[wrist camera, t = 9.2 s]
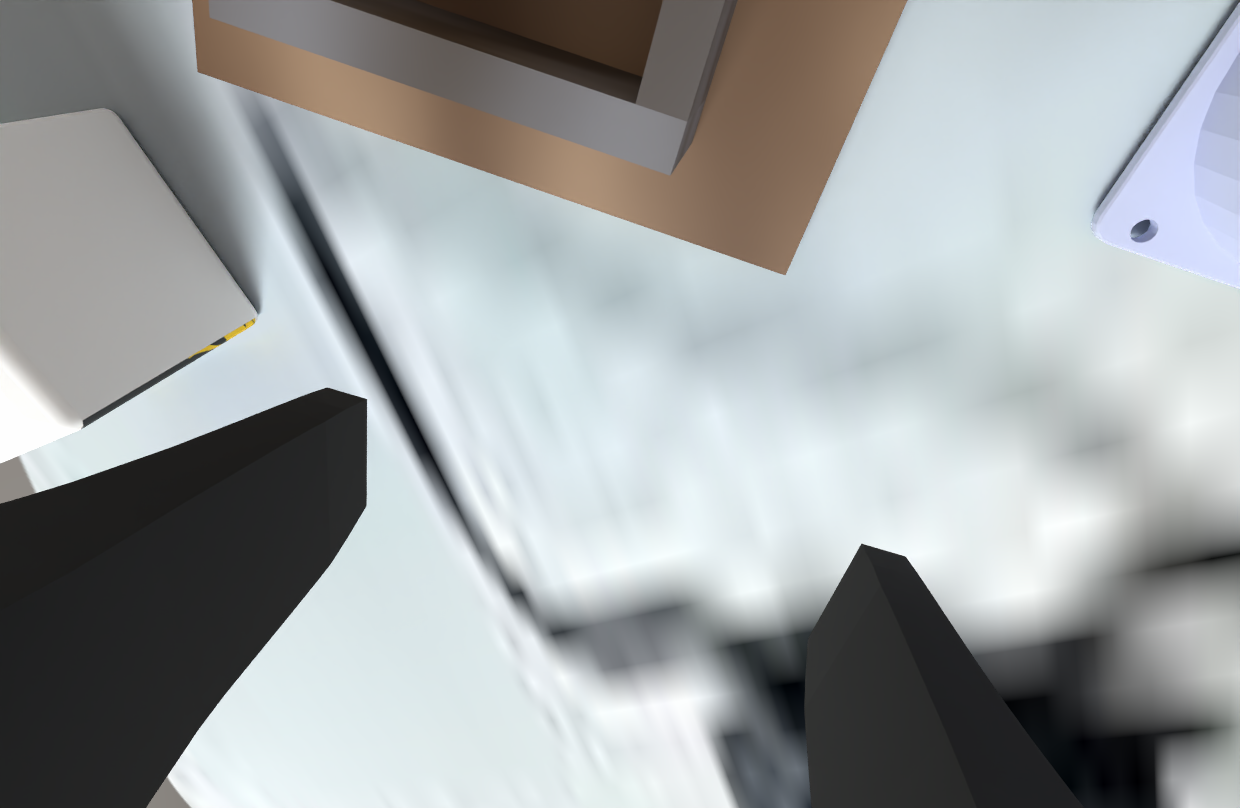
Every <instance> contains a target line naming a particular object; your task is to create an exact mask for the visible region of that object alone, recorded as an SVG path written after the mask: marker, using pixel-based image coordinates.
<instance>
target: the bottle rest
mask: <svg viewBox="0 0 1240 808" xmlns="http://www.w3.org/2000/svg"><path fill="white" fill-rule="evenodd" d="M906 2H907V0H192V3H193V16H194V29H195V43H196V56H197V69H198V72H199V73H202V74H205V75H208V76H211V77H214V78H217V79H220V80H223V81H225V82H228V83H231V84H234V85H237V86H240V87H243V88H246V89H249V90H251V91H254V92H257V93H260V94H263V95H266V96H269V97H272V98H275V99H277V100H280V101H283V102H286V103H289V104H292V105H295V106H298V107H301V108H303V109H306V110H309V111H312V112H315V113H318V114H321V115H324V116H327V117H329V118H332V119H335V120H338V121H341V122H344V123H347V124H350V125H353V126H355V127H358V128H361V129H364V130H367V131H370V132H373V133H376V134H379V135H381V136H384V137H387V138H390V139H393V140H396V141H399V142H402V143H404V144H407V145H410V146H413V147H416V148H419V149H422V150H425V151H428V152H430V153H433V154H436V155H439V156H442V157H445V158H448V159H451V160H454V161H456V162H459V163H462V164H465V165H468V166H471V167H474V168H477V169H480V170H482V171H485V172H488V173H491V174H494V175H497V176H500V177H503V178H506V179H508V180H511V181H514V182H517V183H520V184H523V185H526V186H529V187H532V188H534V189H537V190H540V191H543V192H546V193H549V194H552V195H555V196H558V197H560V198H563V199H566V200H569V201H572V202H575V203H578V204H581V205H584V206H586V207H589V208H592V209H595V210H598V211H601V212H604V213H607V214H610V215H612V216H615V217H618V218H621V219H624V220H627V221H630V222H633V223H636V224H638V225H641V226H644V227H647V228H650V229H653V230H656V231H659V232H662V233H664V234H667V235H670V236H673V237H676V238H679V239H682V240H685V241H688V242H690V243H693V244H696V245H699V246H702V247H705V248H708V249H711V250H714V251H716V252H719V253H722V254H725V255H728V256H731V257H734V258H737V259H740V260H742V261H745V262H748V263H751V264H754V265H757V266H760V267H763V268H766V269H768V270H771V271H774V272H777V273H780V274H783V275H786V273H787V270H788V268H789V266H790V264H791V261H792V259H793V257H794V255H795V252H796V250H797V248H798V246H799V243H800V241H801V239H802V237H803V234H804V232H805V230H806V228H807V225H808V223H809V221H810V219H811V216H812V214H813V212H814V210H815V207H816V205H817V203H818V201H819V198H820V196H821V194H822V192H823V189H824V187H825V185H826V183H827V180H828V178H829V176H830V174H831V171H832V169H833V167H834V164H835V162H836V160H837V158H838V155H839V153H840V151H841V149H842V146H843V144H844V142H845V140H846V137H847V135H848V133H849V131H850V128H851V126H852V124H853V122H854V119H855V117H856V115H857V113H858V110H859V108H860V106H861V104H862V101H863V99H864V97H865V95H866V92H867V90H868V88H869V86H870V83H871V81H872V79H873V77H874V74H875V72H876V70H877V68H878V65H879V63H880V61H881V59H882V56H883V54H884V52H885V50H886V47H887V45H888V43H889V41H890V38H891V36H892V34H893V32H894V29H895V27H896V25H897V23H898V20H899V18H900V16H901V13H902V11H903V9H904V7H905V4H906Z"/></svg>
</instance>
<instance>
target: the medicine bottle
mask: <svg viewBox="0 0 1240 808" xmlns="http://www.w3.org/2000/svg"><path fill="white" fill-rule="evenodd" d="M257 319H258V314H257V312H256V310H255V309H254V307H253V306H252V304H251V303H250V301H249V300H248V299H247V297H246V296H245V294H244V293H243V292H242V290H241V289H240V287H239V286H238V285H237V283H236V282H235V280H234V279H233V277H232V276H231V275H230V273H229V272H228V270H227V269H226V268H225V266H224V265H223V263H222V262H221V261H220V259H219V258H218V256H217V255H216V253H215V252H214V251H213V249H212V248H211V246H210V245H209V244H208V242H207V241H206V239H205V238H204V237H203V235H202V234H201V232H200V231H199V229H198V228H197V227H196V225H195V224H194V222H193V221H192V220H191V218H190V217H189V215H188V214H187V213H186V211H185V210H184V208H183V207H182V205H181V204H180V203H179V201H178V200H177V198H176V197H175V196H174V194H173V193H172V191H171V190H170V189H169V187H168V186H167V184H166V183H165V181H164V180H163V179H162V177H161V176H160V174H159V173H158V172H157V170H156V169H155V167H154V166H153V165H152V163H151V162H150V160H149V159H148V157H147V156H146V155H145V153H144V152H143V150H142V149H141V148H140V146H139V145H138V143H137V142H136V141H135V139H134V138H133V136H132V135H131V133H130V132H129V131H128V129H127V128H126V126H125V125H124V124H123V122H122V121H121V119H120V118H119V117H118V116H117V115H116V114H115V113H114V112H113V111H111V110H109V109H105V108H99V109H93V110H86V111H80V112H73V113H67V114H60V115H54V116H47V117H41V118H34V119H28V120H21V121H15V122H8V123H2V124H0V463H2V462H4V461H7V460H9V459H12V458H14V457H16V456H19V455H21V454H24V453H26V452H28V451H31V450H33V449H36V448H38V447H40V446H43V445H45V444H48V443H50V442H52V441H55V440H57V439H60V438H62V437H64V436H67V435H69V434H71V433H74V432H76V431H79V430H81V429H82V428H84V427H86V426H87V425H89V424H91V423H92V422H94V421H96V420H97V419H99V418H101V417H102V416H104V415H106V414H107V413H109V412H110V411H112V410H114V409H115V408H117V407H119V406H120V405H122V404H124V403H125V402H127V401H129V400H130V399H132V398H134V397H135V396H137V395H139V394H140V393H142V392H143V391H145V390H147V389H148V388H150V387H152V386H153V385H155V384H157V383H158V382H160V381H162V380H163V379H165V378H167V377H168V376H170V375H172V374H173V373H175V372H176V371H178V370H180V369H181V368H183V367H185V366H186V365H188V364H190V363H191V362H193V361H195V360H196V359H198V358H200V357H201V356H203V355H205V354H206V353H208V352H209V351H211V350H213V349H214V348H216V347H218V346H219V345H221V344H223V343H224V342H226V341H228V340H229V339H231V338H233V337H234V336H236V335H237V334H239V333H241V332H242V331H244V330H246V329H247V328H249V327H251V326H252V325H253V324H254V323H255V322H256V321H257Z"/></svg>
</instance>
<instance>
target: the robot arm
mask: <svg viewBox="0 0 1240 808" xmlns="http://www.w3.org/2000/svg"><path fill="white" fill-rule="evenodd" d="M1145 219H1147V220H1150V226H1149V228H1148V230H1147V231H1146V232H1145V233H1144V234H1143V235H1141V236H1138V237H1135V238H1133V237H1131V235H1130V232H1131V230H1132V228H1133V227H1134V226H1135V225H1136V224H1137V223H1138V222H1140V221H1143V220H1145ZM1091 229H1092V231H1093V233H1094V235H1095V236H1096V237H1097V238H1099V239H1100V240H1102V241H1103V242H1105V243H1106V244H1109V245H1112V246H1115V247H1118V248H1121V249H1124V250H1126V251H1129V252H1132V253H1135V254H1138V255H1141V256H1144V257H1147V258H1150V259H1153V260H1156V261H1159V262H1162V263H1165V264H1168V265H1171V266H1174V267H1177V268H1180V269H1182V270H1185V271H1188V272H1191V273H1194V274H1197V275H1200V276H1203V277H1206V278H1209V279H1212V280H1215V281H1218V282H1221V283H1224V284H1227V285H1230V286H1233V287H1236V288H1238V289H1240V2H1239V3H1238V5H1237V6H1236V8H1235V9H1234V11H1233V12H1232V14H1231V15H1230V17H1229V18H1228V20H1227V21H1226V22H1225V24H1224V25H1223V27H1222V28H1221V30H1220V31H1219V33H1218V34H1217V36H1216V37H1215V39H1214V40H1213V41H1212V43H1211V44H1210V46H1209V47H1208V49H1207V50H1206V52H1205V53H1204V55H1203V56H1202V57H1201V59H1200V60H1199V62H1198V63H1197V65H1196V66H1195V68H1194V69H1193V71H1192V72H1191V74H1190V75H1189V76H1188V78H1187V79H1186V81H1185V82H1184V84H1183V85H1182V87H1181V88H1180V90H1179V91H1178V92H1177V94H1176V95H1175V97H1174V98H1173V100H1172V101H1171V103H1170V104H1169V106H1168V107H1167V109H1166V110H1165V111H1164V113H1163V114H1162V116H1161V117H1160V119H1159V120H1158V122H1157V123H1156V125H1155V126H1154V127H1153V129H1152V130H1151V132H1150V133H1149V135H1148V136H1147V138H1146V139H1145V141H1144V142H1143V144H1142V145H1141V146H1140V148H1139V149H1138V151H1137V152H1136V154H1135V155H1134V157H1133V158H1132V160H1131V161H1130V163H1129V164H1128V165H1127V167H1126V168H1125V170H1124V171H1123V173H1122V174H1121V176H1120V177H1119V179H1118V180H1117V181H1116V183H1115V184H1114V186H1113V187H1112V189H1111V190H1110V192H1109V193H1108V195H1107V196H1106V198H1105V199H1104V200H1103V202H1102V203H1101V205H1100V206H1099V208H1098V209H1097V211H1096V212H1095V214H1094V216H1093V218H1092V221H1091ZM366 499H367V399H365V398H361V397H358V396H354V395H351V394H347V393H344V392H341V391H337V390H334V389H330V388H324V389H321V390H318V391H315V392H312V393H310V394H307V395H304V396H301V397H299V398H296V399H293V400H291V401H288V402H286V403H283V404H281V405H278V406H276V407H273V408H271V409H268V410H265V411H263V412H260V413H258V414H255V415H253V416H250V417H248V418H245V419H243V420H240V421H238V422H235V423H233V424H230V425H228V426H225V427H222V428H220V429H217V430H215V431H212V432H210V433H207V434H205V435H202V436H199V437H197V438H194V439H192V440H189V441H187V442H184V443H181V444H179V445H176V446H174V447H171V448H168V449H165V450H163V451H160V452H157V453H154V454H151V455H148V456H145V457H143V458H140V459H137V460H134V461H131V462H128V463H125V464H123V465H120V466H117V467H114V468H111V469H108V470H105V471H103V472H100V473H97V474H94V475H91V476H88V477H86V478H83V479H80V480H77V481H74V482H71V483H68V484H64V485H61V486H58V487H55V488H52V489H49V490H45V491H42V492H39V493H35V494H32V495H29V496H26V497H22V498H19V499H15V500H12V501H9V502H5V503H1V504H0V808H146V807H147V805H148V804H149V802H150V801H151V799H152V798H153V796H154V795H155V793H156V792H157V790H158V789H159V787H160V786H161V784H162V783H163V781H164V780H165V778H166V777H167V776H168V774H169V773H170V771H171V770H172V768H173V767H174V765H175V764H176V762H177V761H178V759H179V758H180V756H181V755H182V753H183V752H184V750H185V749H186V747H187V746H188V744H189V743H190V741H191V740H192V738H193V737H194V735H195V734H196V732H197V731H198V730H199V728H200V727H201V725H202V724H203V723H204V721H205V720H206V719H207V717H208V716H209V715H210V713H211V712H212V711H213V710H214V708H215V707H216V706H217V704H218V703H219V702H220V700H221V699H222V698H223V696H224V695H225V694H226V693H227V691H228V690H229V689H230V688H231V686H232V685H233V684H234V683H235V681H236V680H237V679H238V678H239V677H240V675H241V674H242V673H243V672H244V670H245V669H246V668H247V667H248V666H249V664H250V663H251V662H252V661H253V659H254V658H255V657H256V656H257V655H258V653H259V652H260V651H261V650H262V648H263V647H264V646H265V645H266V644H267V642H268V641H269V640H270V639H271V637H272V636H273V635H274V634H275V633H276V631H277V630H278V629H279V628H280V626H281V625H282V624H283V623H284V622H285V620H286V619H287V618H288V617H289V615H290V614H291V613H292V612H293V610H294V609H295V608H296V607H297V606H298V604H299V603H300V602H301V601H302V599H303V598H304V597H305V596H306V594H307V593H308V592H309V591H310V589H311V588H312V587H313V586H314V584H315V583H316V582H317V581H318V579H319V578H320V577H321V576H322V574H323V573H324V572H325V570H326V569H327V568H328V567H329V565H330V564H331V563H332V561H333V560H334V558H335V556H336V555H337V553H338V552H339V550H340V549H341V547H342V545H343V544H344V542H345V541H346V539H347V538H348V536H349V534H350V533H351V531H352V529H353V528H354V526H355V524H356V523H357V521H358V519H359V518H360V516H361V514H362V513H363V511H364V509H365V507H366ZM805 725H806V740H807V754H808V767H809V780H810V793H811V805H812V808H1084V807H1083V806H1082V805H1081V804H1080V802H1079V801H1078V800H1077V798H1076V797H1075V796H1074V795H1073V793H1072V792H1071V791H1070V789H1069V788H1068V787H1067V785H1066V784H1065V783H1064V781H1063V780H1062V779H1061V778H1060V776H1059V775H1058V774H1057V772H1056V771H1055V770H1054V768H1053V767H1052V766H1051V764H1050V763H1049V762H1048V761H1047V759H1046V758H1045V757H1044V755H1043V754H1042V753H1041V751H1040V750H1039V749H1038V747H1037V746H1036V745H1035V743H1034V742H1033V741H1032V739H1031V738H1030V737H1029V735H1028V734H1027V733H1026V731H1025V730H1024V728H1023V727H1022V726H1021V724H1020V723H1019V722H1018V720H1017V719H1016V717H1015V716H1014V715H1013V713H1012V712H1011V710H1010V709H1009V708H1008V706H1007V705H1006V703H1005V702H1004V701H1003V699H1002V698H1001V696H1000V695H999V693H998V692H997V691H996V689H995V688H994V686H993V685H992V683H991V682H990V681H989V679H988V678H987V676H986V675H985V673H984V672H983V670H982V669H981V667H980V666H979V665H978V663H977V662H976V660H975V659H974V657H973V656H972V654H971V653H970V651H969V650H968V648H967V647H966V645H965V644H964V642H963V641H962V639H961V638H960V636H959V635H958V633H957V632H956V630H955V629H954V627H953V626H952V624H951V623H950V621H949V620H948V618H947V617H946V615H945V614H944V612H943V611H942V609H941V608H940V606H939V605H938V603H937V602H936V600H935V599H934V597H933V596H932V594H931V593H930V591H929V590H928V588H927V587H926V585H925V584H924V582H923V581H922V579H921V578H920V576H919V575H918V573H917V572H916V571H915V569H914V568H913V566H912V565H911V564H910V562H909V561H908V559H907V558H906V557H905V556H902V555H898V554H895V553H891V552H888V551H885V550H881V549H878V548H874V547H871V546H867V545H864V544H861V546H860V547H859V549H858V551H857V553H856V555H855V556H854V558H853V560H852V562H851V563H850V565H849V567H848V569H847V571H846V572H845V574H844V576H843V578H842V579H841V581H840V583H839V585H838V586H837V588H836V590H835V592H834V594H833V595H832V597H831V599H830V601H829V602H828V604H827V606H826V608H825V610H824V611H823V613H822V615H821V617H820V618H819V620H818V622H817V624H816V626H815V627H814V629H813V631H812V633H811V634H810V636H809V638H808V647H807V663H806V681H805Z"/></svg>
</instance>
